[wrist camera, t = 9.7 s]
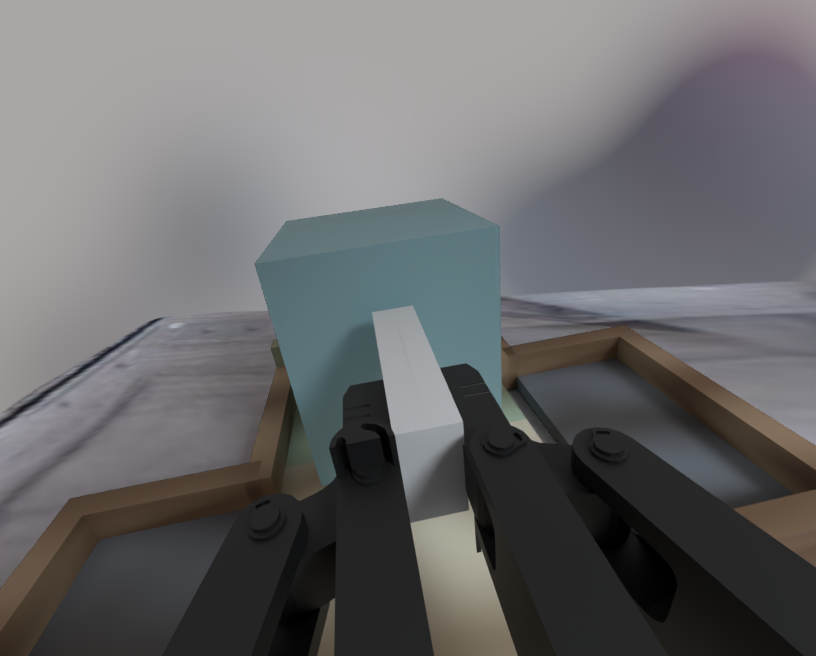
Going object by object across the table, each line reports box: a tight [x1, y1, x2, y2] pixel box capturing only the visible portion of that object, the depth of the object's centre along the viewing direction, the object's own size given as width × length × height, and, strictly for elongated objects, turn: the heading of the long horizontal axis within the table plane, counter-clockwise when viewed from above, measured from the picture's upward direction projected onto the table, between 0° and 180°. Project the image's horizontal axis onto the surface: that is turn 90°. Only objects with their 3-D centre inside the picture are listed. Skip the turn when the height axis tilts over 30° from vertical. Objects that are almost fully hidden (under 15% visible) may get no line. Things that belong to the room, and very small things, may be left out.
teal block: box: [255, 198, 502, 486], centre depth 20 cm, size 9×9×11 cm
